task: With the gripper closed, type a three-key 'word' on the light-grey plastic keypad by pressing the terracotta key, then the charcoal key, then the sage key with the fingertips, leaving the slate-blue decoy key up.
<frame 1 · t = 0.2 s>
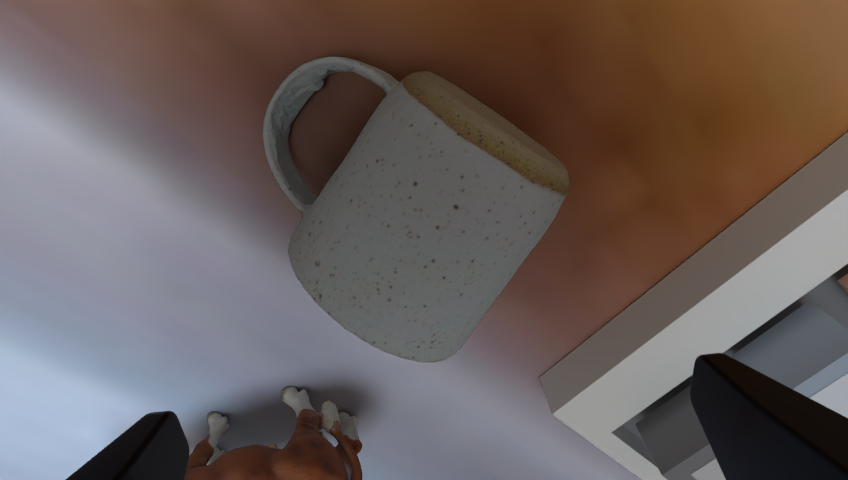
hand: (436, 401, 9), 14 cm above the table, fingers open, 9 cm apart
ceramic mug: (396, 165, 23), on the table
key slate: (815, 376, 23), point 4 cm above the table, slide at 0.0 cm
keypad: (809, 288, 26), on the table
bull figurine: (252, 419, 29), on the table
key charcoal: (710, 444, 25), point 4 cm above the table, slide at 0.0 cm
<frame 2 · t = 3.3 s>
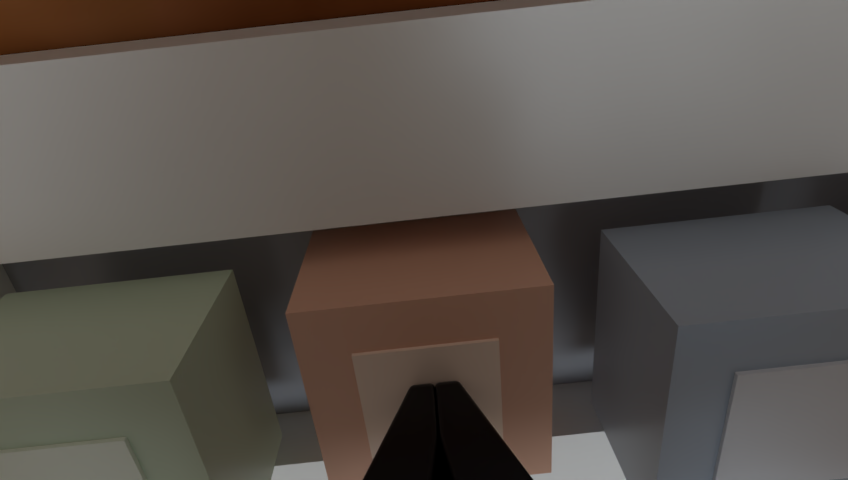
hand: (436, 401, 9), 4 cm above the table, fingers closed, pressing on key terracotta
key sage: (120, 428, 9), point 4 cm above the table, slide at 0.0 cm
key slate: (744, 362, 9), point 4 cm above the table, slide at 0.0 cm
keypad: (535, 268, 13), on the table
key terracotta: (427, 348, 10), point 3 cm above the table, slide at 1.3 cm, touching gripper
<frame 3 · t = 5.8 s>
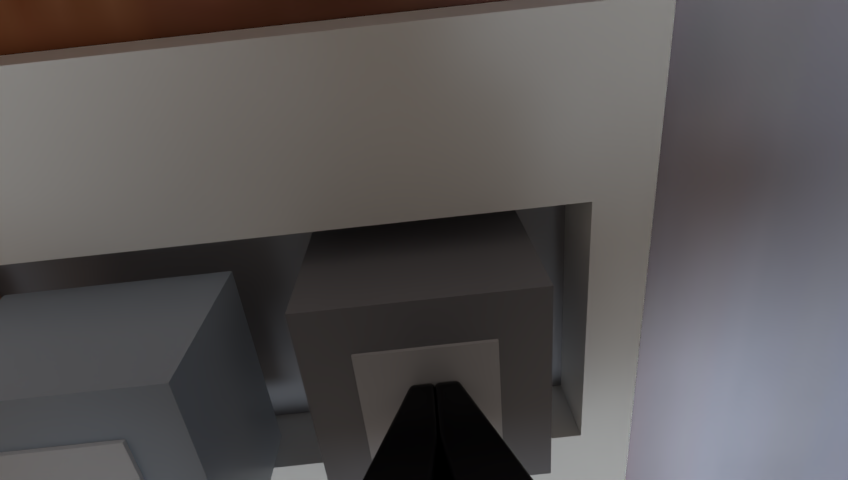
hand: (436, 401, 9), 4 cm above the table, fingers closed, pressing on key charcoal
key slate: (119, 430, 9), point 4 cm above the table, slide at 0.0 cm
keypad: (83, 317, 13), on the table
key charcoal: (427, 348, 10), point 3 cm above the table, slide at 1.4 cm, touching gripper
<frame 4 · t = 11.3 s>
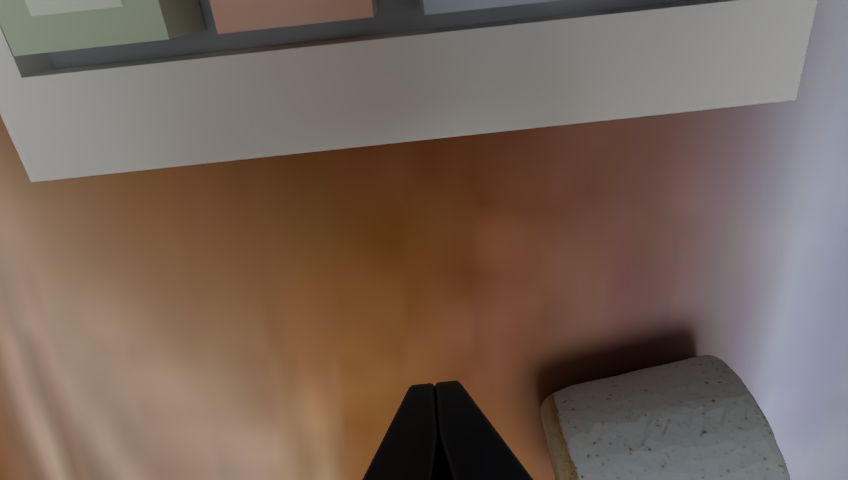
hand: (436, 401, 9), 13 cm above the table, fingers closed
ceramic mug: (624, 413, 27), on the table
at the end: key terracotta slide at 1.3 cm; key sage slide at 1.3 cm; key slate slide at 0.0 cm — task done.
